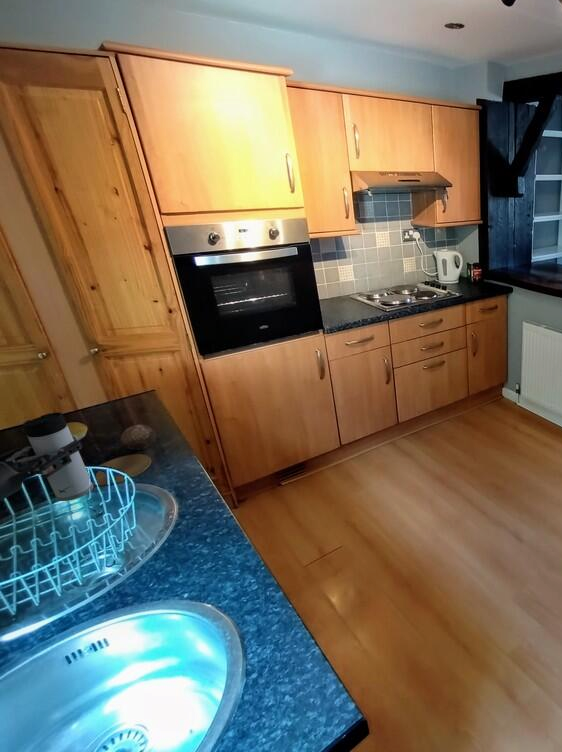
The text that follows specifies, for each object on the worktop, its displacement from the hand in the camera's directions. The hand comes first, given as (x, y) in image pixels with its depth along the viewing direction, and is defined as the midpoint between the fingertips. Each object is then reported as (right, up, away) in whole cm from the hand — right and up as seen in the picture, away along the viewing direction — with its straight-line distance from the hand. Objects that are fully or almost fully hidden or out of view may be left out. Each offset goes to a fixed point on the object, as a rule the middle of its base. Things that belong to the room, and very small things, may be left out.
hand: (66, 442), depth 101 cm
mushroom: (-5, -6, +27) cm, 28 cm away
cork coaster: (-2, -10, +16) cm, 19 cm away
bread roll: (-29, -4, +30) cm, 42 cm away
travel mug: (0, -12, +3) cm, 12 cm away
